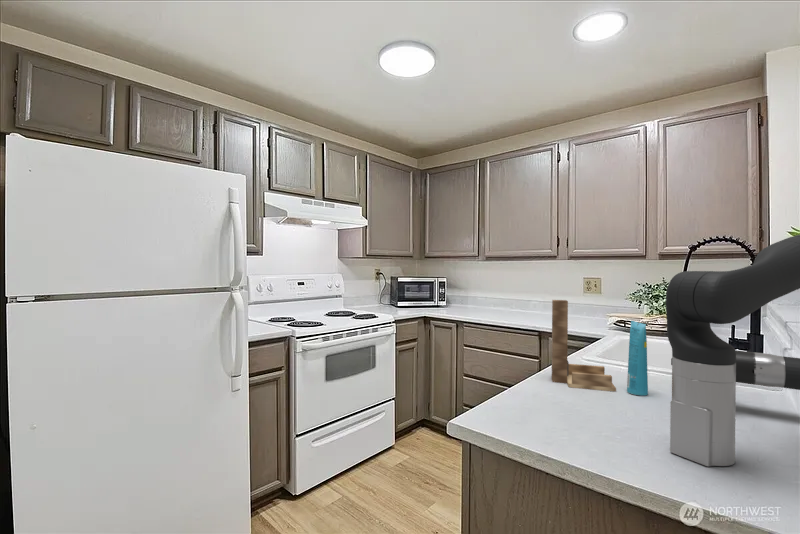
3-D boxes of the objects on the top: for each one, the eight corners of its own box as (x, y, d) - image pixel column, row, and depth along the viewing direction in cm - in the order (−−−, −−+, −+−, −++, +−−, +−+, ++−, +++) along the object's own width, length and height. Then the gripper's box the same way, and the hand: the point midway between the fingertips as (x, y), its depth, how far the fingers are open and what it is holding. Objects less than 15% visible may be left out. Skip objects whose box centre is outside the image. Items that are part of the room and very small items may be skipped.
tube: (655, 397, 104) (655, 324, 104) (636, 397, 104) (637, 324, 104) (637, 389, 112) (637, 320, 112) (620, 389, 111) (620, 320, 111)
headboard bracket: (607, 379, 121) (607, 300, 121) (615, 391, 109) (616, 303, 109) (550, 375, 125) (551, 298, 125) (553, 385, 114) (554, 301, 114)
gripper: (753, 347, 99) (674, 340, 109) (759, 357, 88) (670, 348, 98) (753, 378, 99) (673, 367, 109) (759, 392, 88) (670, 378, 98)
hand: (672, 358), depth 103 cm, fingers open, 8 cm apart
